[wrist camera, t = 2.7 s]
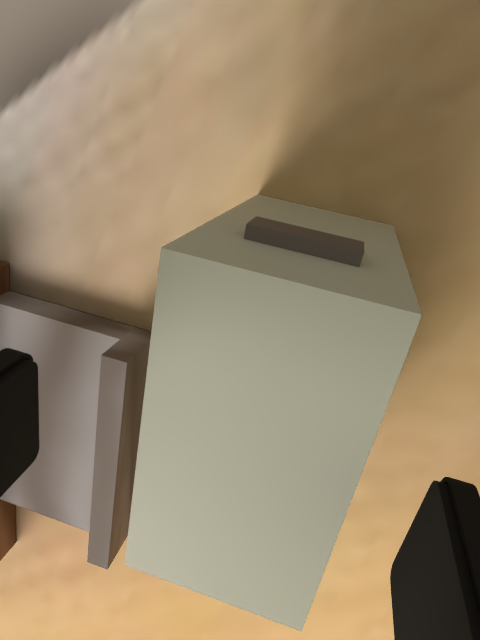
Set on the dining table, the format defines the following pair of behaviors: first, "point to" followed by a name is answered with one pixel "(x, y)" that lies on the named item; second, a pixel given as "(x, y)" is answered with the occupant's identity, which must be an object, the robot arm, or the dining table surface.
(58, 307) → the board
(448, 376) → the dining table surface
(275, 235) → the slotted sage box
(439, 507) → the robot arm
